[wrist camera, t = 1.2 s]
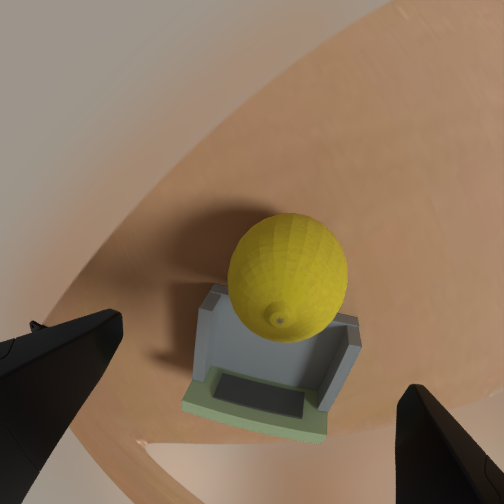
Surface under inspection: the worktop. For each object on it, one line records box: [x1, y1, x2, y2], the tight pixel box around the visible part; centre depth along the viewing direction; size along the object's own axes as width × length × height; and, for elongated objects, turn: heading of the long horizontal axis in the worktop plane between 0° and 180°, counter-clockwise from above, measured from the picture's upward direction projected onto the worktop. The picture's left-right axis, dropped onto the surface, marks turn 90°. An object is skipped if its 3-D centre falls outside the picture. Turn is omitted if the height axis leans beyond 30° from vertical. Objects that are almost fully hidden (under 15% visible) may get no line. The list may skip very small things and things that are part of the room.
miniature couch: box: [182, 283, 362, 444], centre depth 19 cm, size 10×8×5 cm
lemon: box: [227, 213, 348, 343], centre depth 15 cm, size 6×6×8 cm
